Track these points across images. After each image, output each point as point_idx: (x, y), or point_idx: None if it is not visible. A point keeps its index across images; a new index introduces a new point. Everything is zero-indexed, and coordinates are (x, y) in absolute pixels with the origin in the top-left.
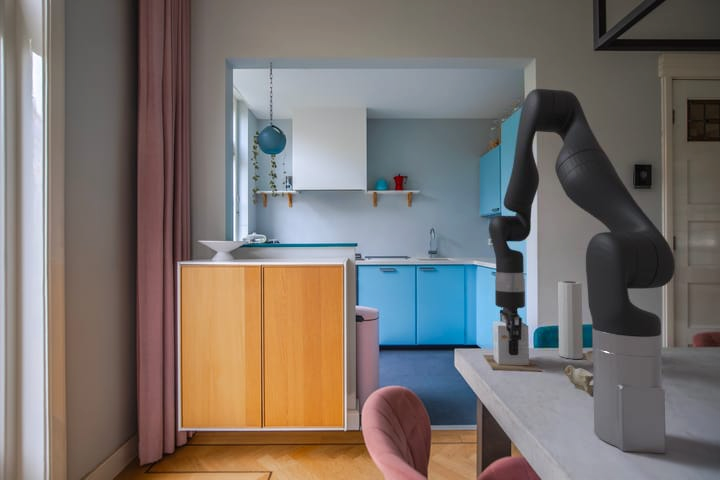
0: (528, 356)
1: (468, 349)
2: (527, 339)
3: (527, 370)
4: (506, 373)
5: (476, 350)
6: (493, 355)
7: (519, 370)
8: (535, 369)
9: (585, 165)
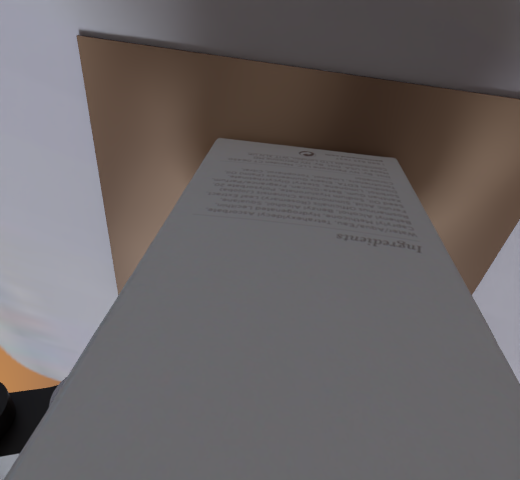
0: (414, 196)
1: (12, 344)
2: (487, 347)
3: (508, 220)
4: (503, 345)
5: (17, 318)
6: (121, 282)
7: (487, 269)
8: (510, 148)
9: None
